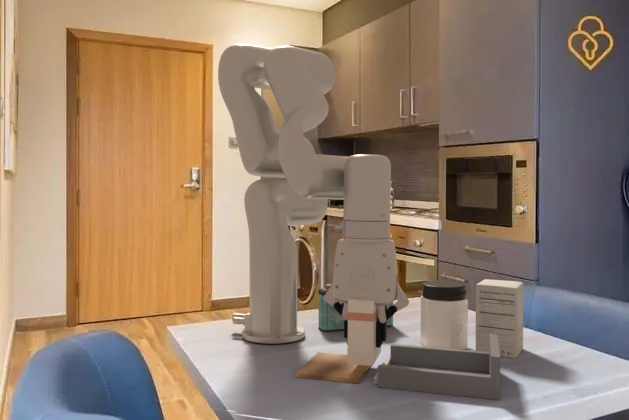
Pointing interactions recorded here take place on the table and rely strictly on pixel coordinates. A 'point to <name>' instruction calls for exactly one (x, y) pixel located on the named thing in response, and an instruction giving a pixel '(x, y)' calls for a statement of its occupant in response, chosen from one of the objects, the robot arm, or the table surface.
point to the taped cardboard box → (362, 332)
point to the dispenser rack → (443, 379)
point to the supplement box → (500, 315)
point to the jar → (444, 315)
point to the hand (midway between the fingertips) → (365, 343)
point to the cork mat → (332, 368)
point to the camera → (334, 315)
